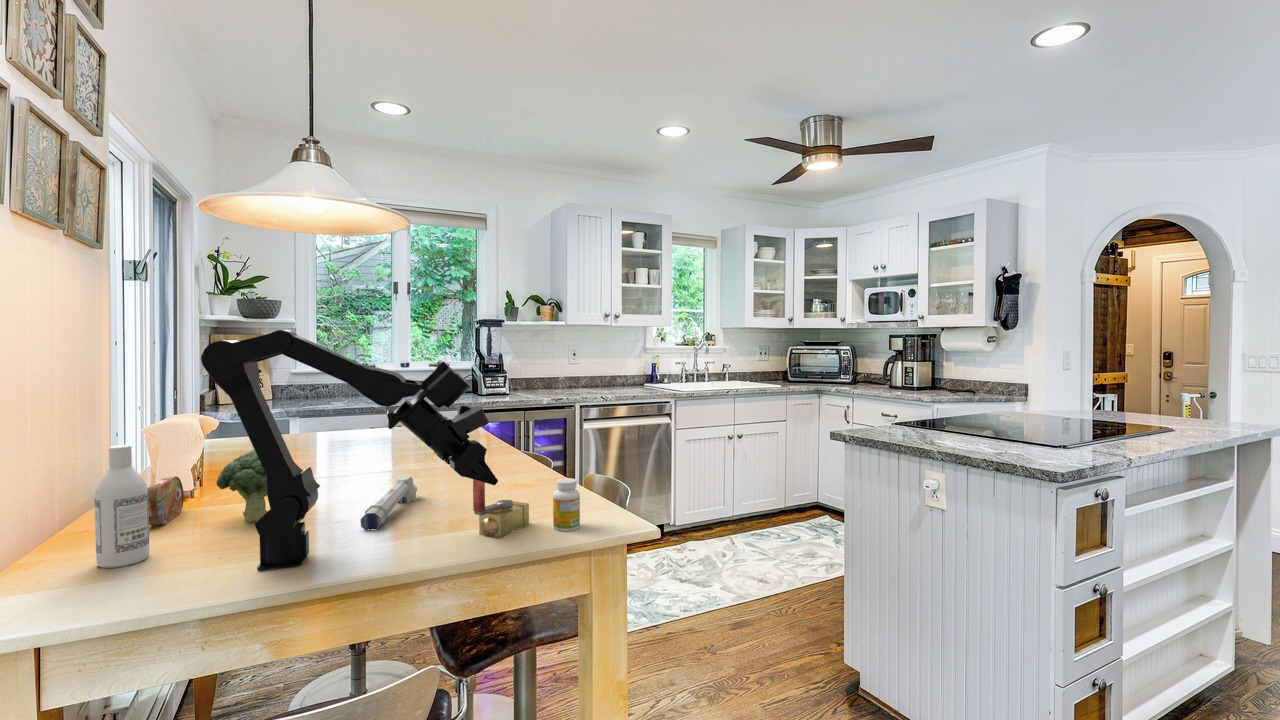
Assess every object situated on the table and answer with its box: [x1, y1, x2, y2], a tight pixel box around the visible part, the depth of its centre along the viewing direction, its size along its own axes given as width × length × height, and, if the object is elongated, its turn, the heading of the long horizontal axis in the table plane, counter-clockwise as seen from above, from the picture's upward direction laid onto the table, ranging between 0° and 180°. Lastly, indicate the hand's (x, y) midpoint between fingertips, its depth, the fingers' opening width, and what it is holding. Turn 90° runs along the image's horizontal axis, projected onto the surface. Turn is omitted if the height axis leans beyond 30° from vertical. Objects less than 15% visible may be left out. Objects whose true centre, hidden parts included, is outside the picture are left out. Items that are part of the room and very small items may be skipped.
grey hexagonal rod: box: [359, 474, 418, 531], centre depth 131 cm, size 5×7×25 cm
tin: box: [147, 476, 185, 527], centre depth 126 cm, size 15×3×8 cm, turn 22°
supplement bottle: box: [552, 477, 581, 532], centre depth 121 cm, size 5×5×10 cm
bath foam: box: [93, 444, 151, 569], centre depth 102 cm, size 7×7×20 cm
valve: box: [478, 500, 530, 539], centre depth 119 cm, size 10×5×4 cm, turn 155°
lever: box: [472, 479, 513, 516], centre depth 117 cm, size 9×3×12 cm, turn 146°
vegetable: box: [216, 449, 269, 523], centre depth 125 cm, size 12×13×15 cm
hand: (490, 478), depth 114 cm, fingers open, 8 cm apart
